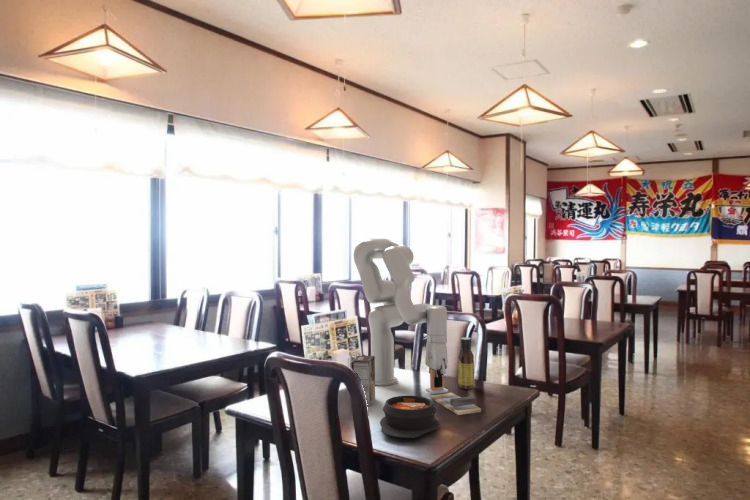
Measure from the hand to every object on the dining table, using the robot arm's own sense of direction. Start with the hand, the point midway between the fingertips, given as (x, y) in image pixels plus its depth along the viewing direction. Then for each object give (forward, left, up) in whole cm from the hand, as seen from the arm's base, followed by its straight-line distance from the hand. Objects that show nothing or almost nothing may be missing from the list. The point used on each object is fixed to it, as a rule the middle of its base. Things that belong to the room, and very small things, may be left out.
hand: (436, 386), depth 195 cm
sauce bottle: (-4, +15, -3) cm, 16 cm away
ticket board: (+13, 0, -3) cm, 14 cm away
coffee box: (-2, -29, -3) cm, 29 cm away
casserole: (+28, -25, -3) cm, 38 cm away
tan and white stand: (0, 0, -2) cm, 2 cm away
